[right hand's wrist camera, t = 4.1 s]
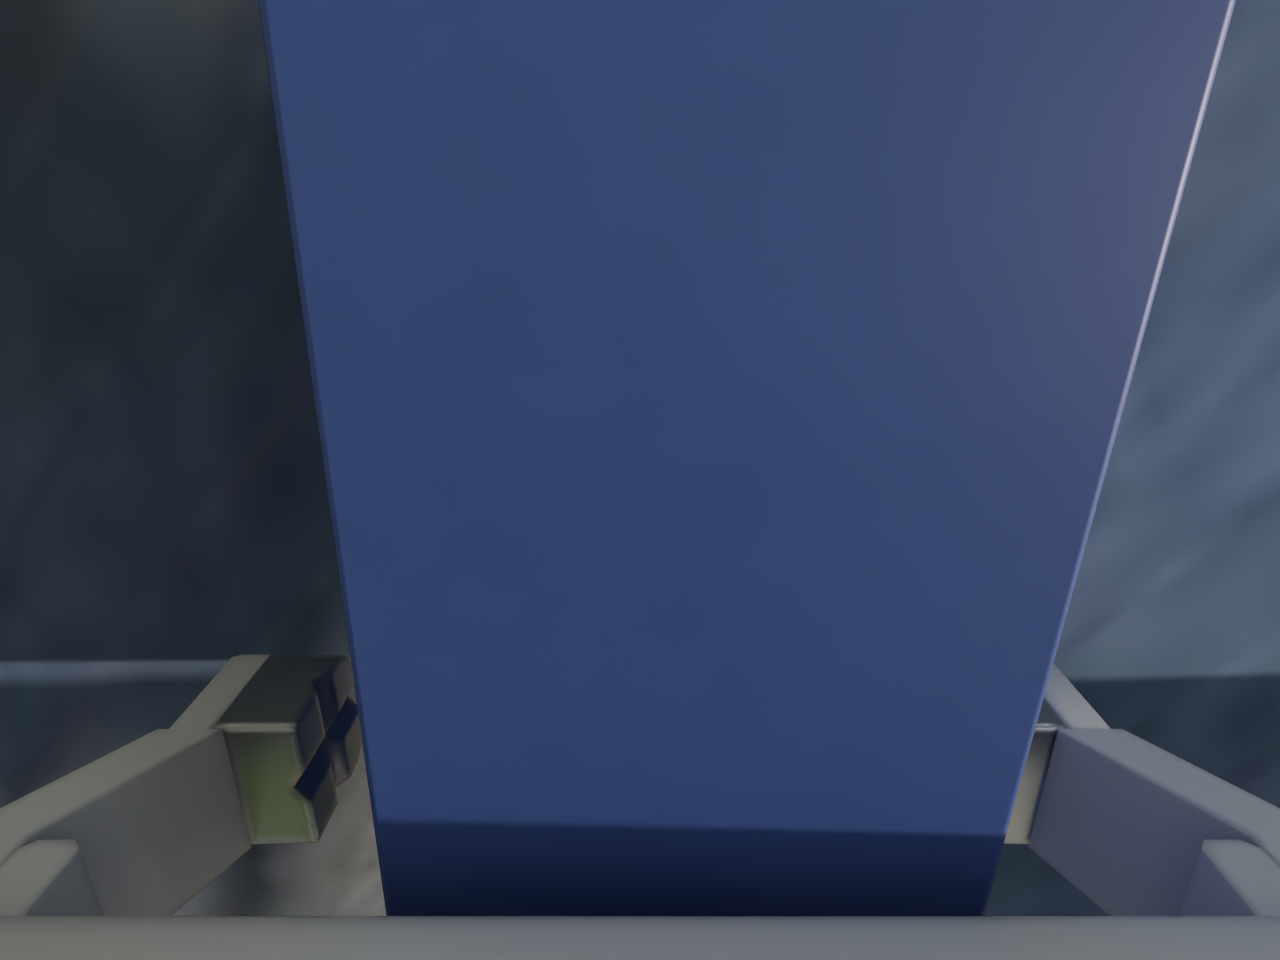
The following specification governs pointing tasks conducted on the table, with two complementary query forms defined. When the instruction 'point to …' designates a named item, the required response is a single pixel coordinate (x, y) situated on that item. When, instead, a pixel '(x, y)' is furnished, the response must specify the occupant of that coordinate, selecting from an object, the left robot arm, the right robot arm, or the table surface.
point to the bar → (718, 421)
